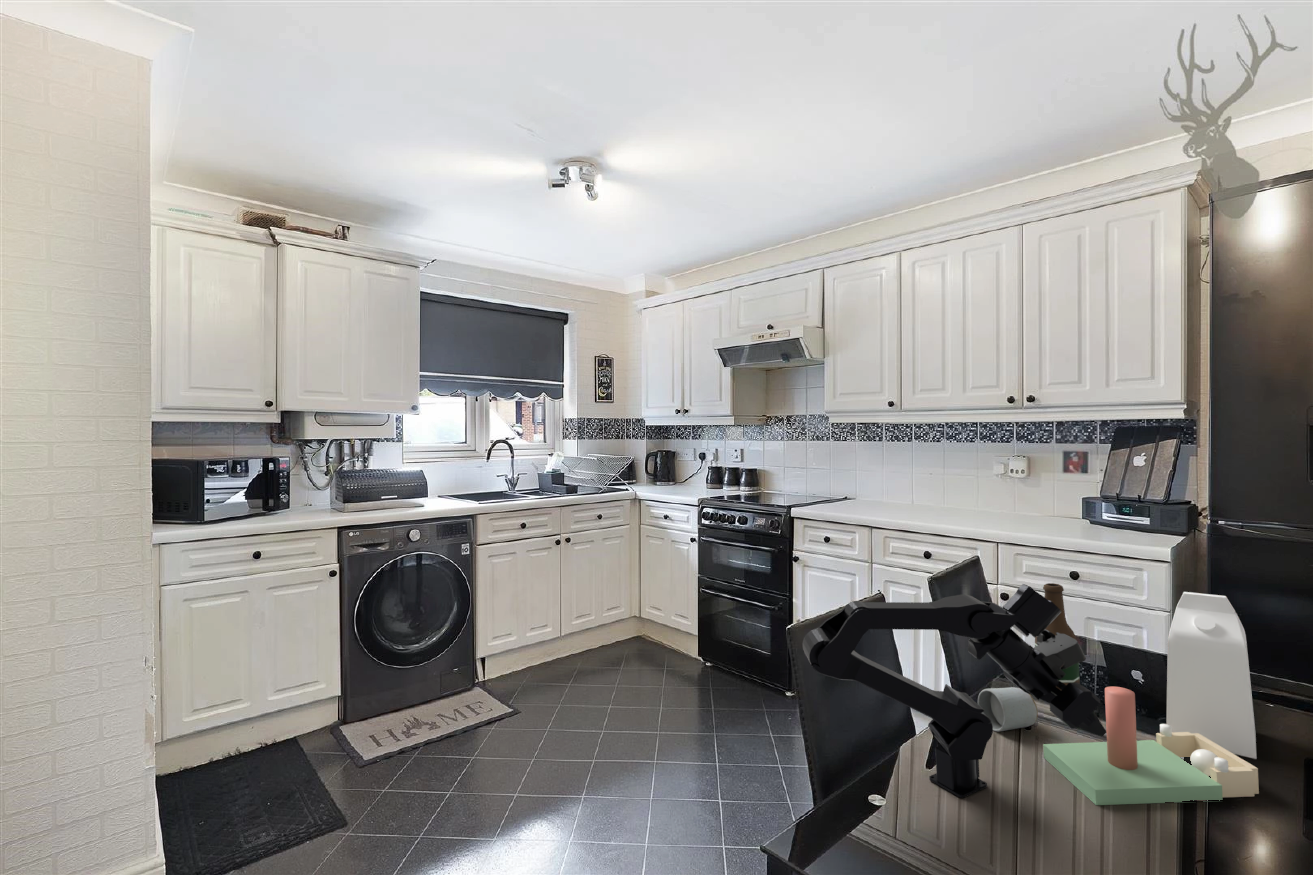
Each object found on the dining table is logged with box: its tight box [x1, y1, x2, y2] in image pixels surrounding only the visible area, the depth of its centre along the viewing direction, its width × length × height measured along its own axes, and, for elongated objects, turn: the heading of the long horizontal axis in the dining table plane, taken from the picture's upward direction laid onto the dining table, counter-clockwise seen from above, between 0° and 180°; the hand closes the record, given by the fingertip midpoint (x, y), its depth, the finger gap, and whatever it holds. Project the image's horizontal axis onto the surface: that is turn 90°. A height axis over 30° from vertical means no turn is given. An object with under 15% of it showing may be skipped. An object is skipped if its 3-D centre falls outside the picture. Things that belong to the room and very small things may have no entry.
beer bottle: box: [1034, 582, 1081, 690], centre depth 134 cm, size 8×8×24 cm
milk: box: [1165, 591, 1258, 760], centre depth 115 cm, size 12×12×26 cm
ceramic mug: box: [977, 686, 1039, 732], centre depth 124 cm, size 11×8×8 cm
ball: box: [1190, 749, 1218, 776], centre depth 103 cm, size 4×4×4 cm
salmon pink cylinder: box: [1104, 686, 1138, 770], centre depth 104 cm, size 4×4×12 cm
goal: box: [1155, 723, 1260, 798], centre depth 103 cm, size 7×13×6 cm, turn 178°
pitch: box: [1042, 739, 1224, 806], centre depth 104 cm, size 19×14×2 cm
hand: (1085, 720), depth 104 cm, fingers open, 9 cm apart
